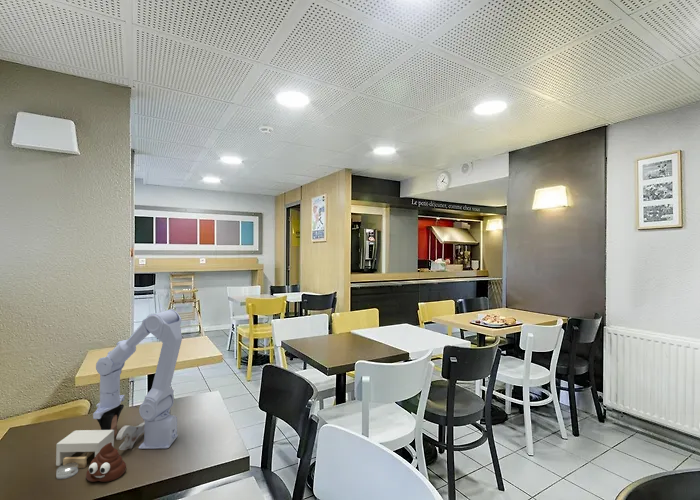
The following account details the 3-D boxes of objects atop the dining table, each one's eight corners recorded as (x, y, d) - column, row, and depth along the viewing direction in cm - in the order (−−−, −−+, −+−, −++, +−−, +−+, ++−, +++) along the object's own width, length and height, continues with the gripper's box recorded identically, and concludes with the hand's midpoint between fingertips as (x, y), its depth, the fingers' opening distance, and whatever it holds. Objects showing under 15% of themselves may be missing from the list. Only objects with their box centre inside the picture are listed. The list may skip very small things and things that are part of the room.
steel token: (82, 468, 107) (82, 462, 107) (70, 479, 102) (70, 472, 102) (64, 469, 106) (64, 462, 106) (51, 480, 101) (51, 473, 101)
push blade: (120, 434, 126) (121, 414, 126) (84, 468, 107) (84, 444, 107) (102, 435, 125) (103, 414, 125) (63, 468, 106) (63, 444, 106)
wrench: (170, 422, 141) (119, 457, 112) (165, 422, 141) (113, 457, 112) (171, 401, 142) (122, 430, 113) (167, 401, 142) (116, 429, 113)
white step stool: (113, 449, 116) (114, 429, 116) (98, 464, 108) (98, 443, 108) (74, 450, 116) (75, 430, 116) (56, 465, 108) (56, 443, 108)
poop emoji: (132, 466, 108) (132, 435, 108) (114, 485, 100) (115, 451, 100) (98, 466, 108) (98, 435, 108) (77, 485, 99) (78, 451, 99)
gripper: (110, 382, 131) (109, 420, 131) (83, 399, 117) (82, 441, 117) (130, 382, 131) (130, 420, 132) (106, 399, 117) (105, 441, 117)
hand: (109, 430), depth 124 cm, fingers closed on push blade, 3 cm apart
